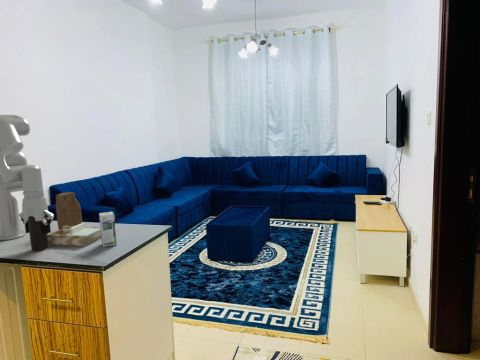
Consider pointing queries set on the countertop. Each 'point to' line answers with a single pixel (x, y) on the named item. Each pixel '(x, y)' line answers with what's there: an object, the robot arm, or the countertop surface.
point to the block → (68, 210)
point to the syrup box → (107, 229)
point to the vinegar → (37, 234)
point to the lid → (82, 230)
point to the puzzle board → (71, 238)
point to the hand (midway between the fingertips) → (38, 232)
